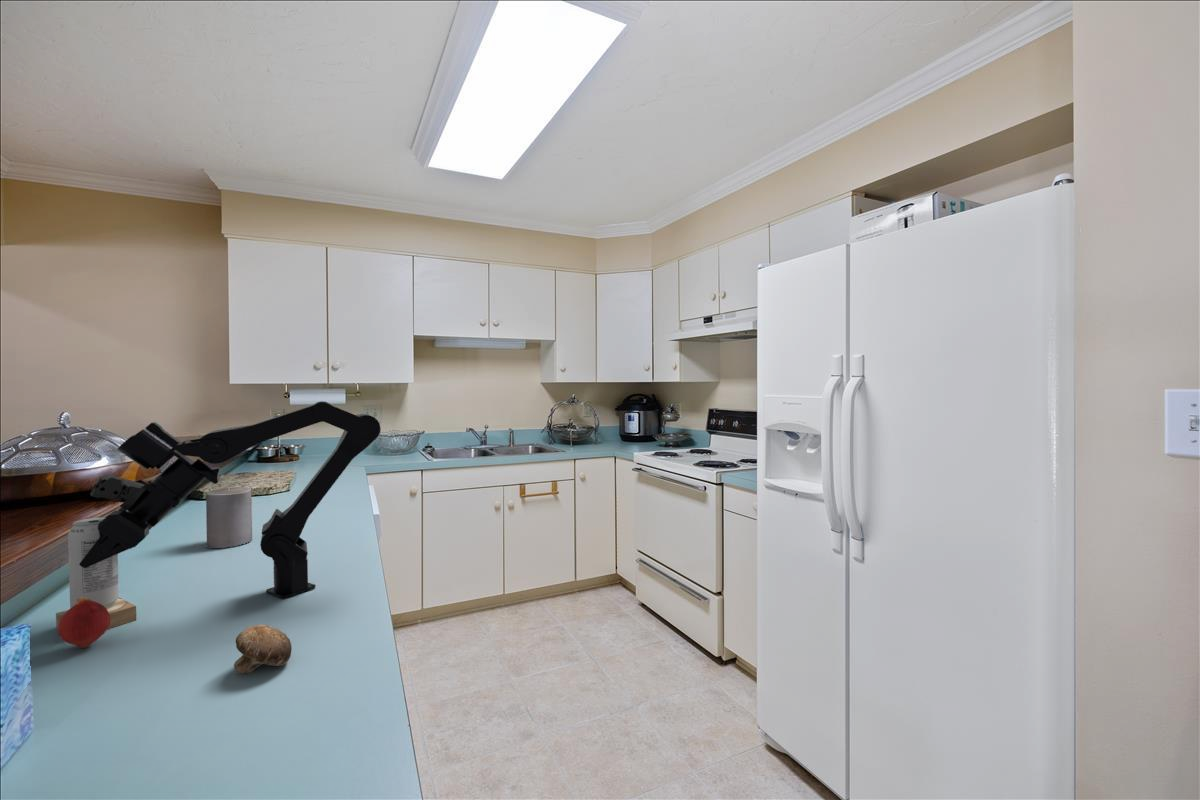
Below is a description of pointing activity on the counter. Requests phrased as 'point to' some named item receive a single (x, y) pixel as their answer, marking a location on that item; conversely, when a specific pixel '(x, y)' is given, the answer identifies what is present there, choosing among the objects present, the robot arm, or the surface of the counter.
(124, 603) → the pedestal
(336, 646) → the counter surface
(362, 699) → the counter surface
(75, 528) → the energy drink can
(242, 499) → the pillar candle
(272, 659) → the mushroom
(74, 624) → the pomegranate
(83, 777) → the counter surface
